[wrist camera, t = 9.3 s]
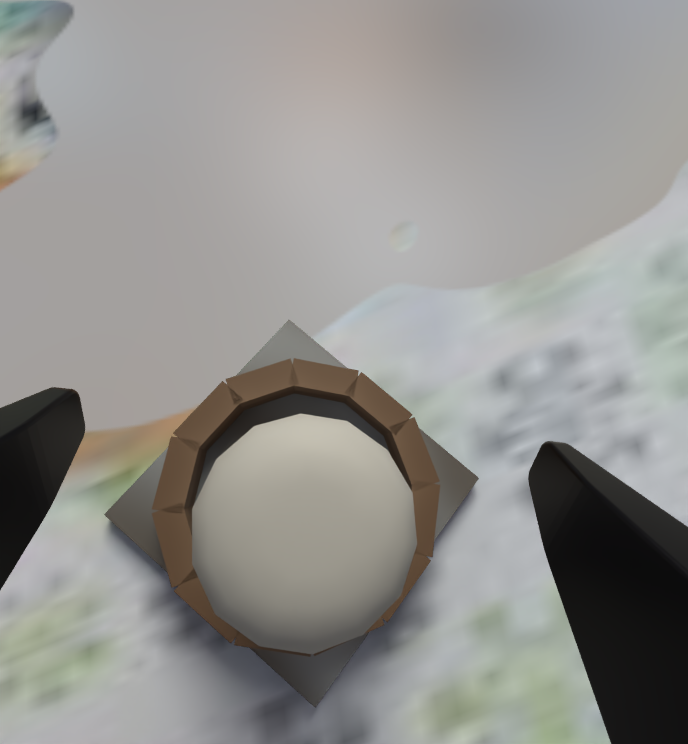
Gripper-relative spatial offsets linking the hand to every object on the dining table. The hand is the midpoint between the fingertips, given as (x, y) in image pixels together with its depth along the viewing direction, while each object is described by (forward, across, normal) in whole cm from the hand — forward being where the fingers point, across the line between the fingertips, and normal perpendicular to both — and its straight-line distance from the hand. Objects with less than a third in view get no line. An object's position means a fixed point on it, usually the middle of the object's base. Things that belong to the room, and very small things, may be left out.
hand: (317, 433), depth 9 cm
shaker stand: (+8, 0, +10) cm, 13 cm away
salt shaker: (+8, 0, +10) cm, 13 cm away
